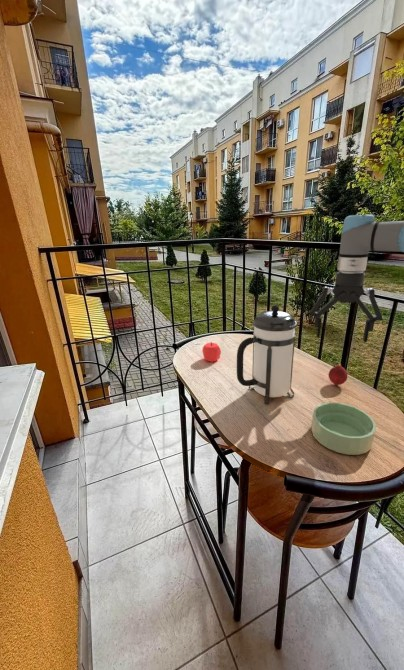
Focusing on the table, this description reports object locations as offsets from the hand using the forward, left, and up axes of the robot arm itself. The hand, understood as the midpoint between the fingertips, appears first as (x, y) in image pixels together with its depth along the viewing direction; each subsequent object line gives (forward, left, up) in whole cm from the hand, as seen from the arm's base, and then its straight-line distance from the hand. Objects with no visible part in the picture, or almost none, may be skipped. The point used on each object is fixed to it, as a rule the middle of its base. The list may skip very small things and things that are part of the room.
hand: (340, 338), depth 90 cm
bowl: (-1, +27, -17) cm, 32 cm away
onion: (-1, 0, -17) cm, 17 cm away
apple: (+47, -6, -17) cm, 51 cm away
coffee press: (+20, +13, -17) cm, 30 cm away
